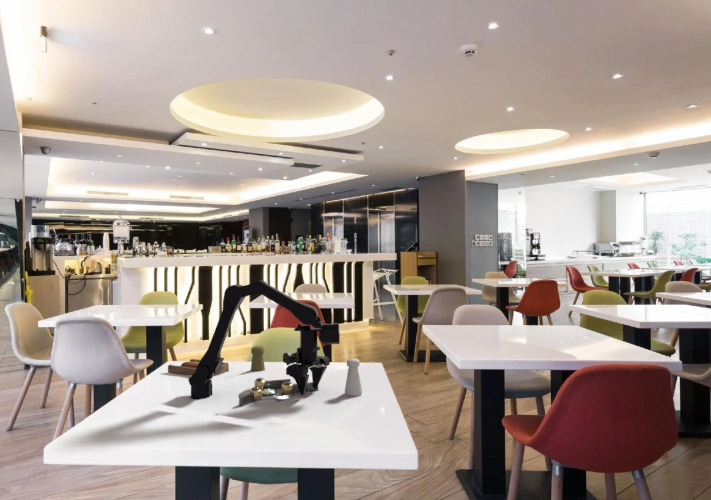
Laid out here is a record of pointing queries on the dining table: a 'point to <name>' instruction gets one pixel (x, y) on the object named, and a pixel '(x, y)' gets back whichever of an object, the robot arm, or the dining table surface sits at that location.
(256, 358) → the cork
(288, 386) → the knob right
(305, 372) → the robot arm
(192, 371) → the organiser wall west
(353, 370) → the salt shaker
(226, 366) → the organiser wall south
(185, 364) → the sunglasses case
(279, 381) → the knob left
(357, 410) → the dining table surface
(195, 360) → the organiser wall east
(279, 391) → the levelling base
